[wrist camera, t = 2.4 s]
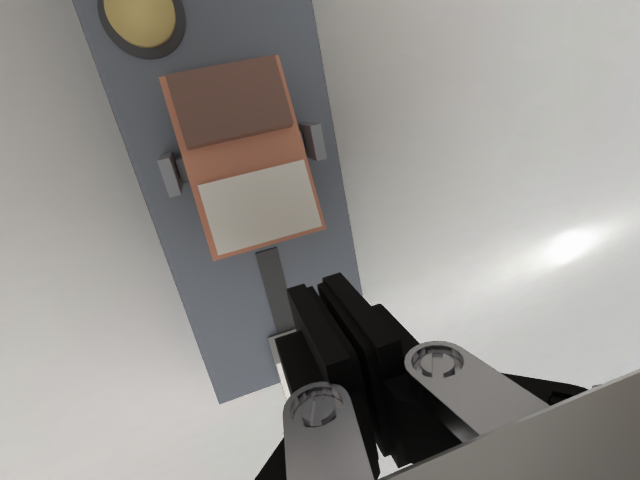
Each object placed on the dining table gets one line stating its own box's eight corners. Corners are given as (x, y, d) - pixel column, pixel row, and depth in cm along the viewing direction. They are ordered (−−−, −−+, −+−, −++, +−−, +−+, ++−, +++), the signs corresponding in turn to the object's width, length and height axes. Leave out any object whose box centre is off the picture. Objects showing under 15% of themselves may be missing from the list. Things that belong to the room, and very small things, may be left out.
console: (47, -103, 17) (-14, -192, 12) (273, -124, 19) (302, -206, 14) (216, 373, 27) (222, 436, 22) (356, 325, 29) (391, 372, 24)
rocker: (162, 86, 18) (155, 71, 16) (276, 64, 19) (280, 48, 17) (214, 260, 18) (212, 262, 16) (321, 229, 19) (329, 228, 18)
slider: (267, 338, 23) (282, 383, 19) (307, 325, 24) (328, 366, 20) (279, 378, 24) (295, 429, 20) (316, 365, 25) (339, 412, 21)
